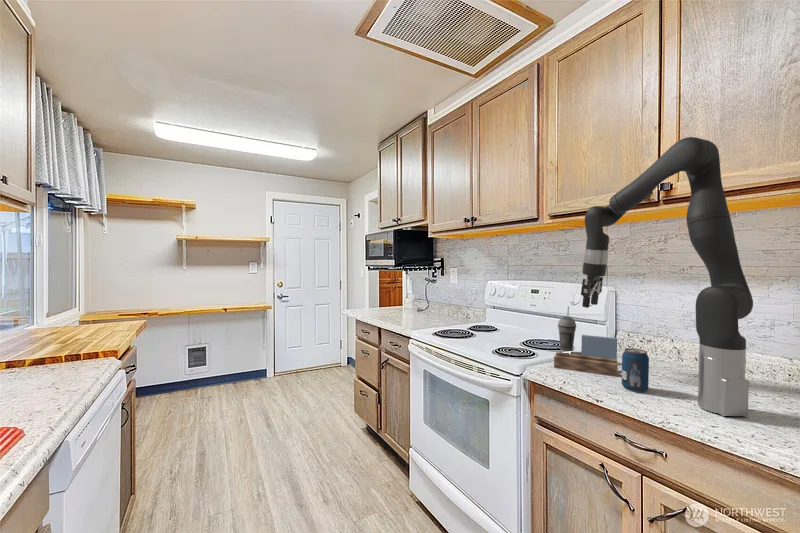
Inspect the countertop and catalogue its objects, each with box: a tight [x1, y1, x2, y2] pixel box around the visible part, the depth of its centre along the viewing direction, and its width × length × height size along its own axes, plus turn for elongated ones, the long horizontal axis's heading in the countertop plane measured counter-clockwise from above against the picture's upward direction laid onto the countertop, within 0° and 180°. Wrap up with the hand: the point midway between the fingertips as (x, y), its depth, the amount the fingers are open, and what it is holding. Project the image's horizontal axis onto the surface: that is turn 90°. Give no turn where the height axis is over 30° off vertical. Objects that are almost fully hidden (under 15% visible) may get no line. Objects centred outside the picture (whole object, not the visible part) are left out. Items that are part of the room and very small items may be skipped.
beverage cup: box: [557, 306, 577, 352], centre depth 153 cm, size 7×7×20 cm
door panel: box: [580, 334, 618, 361], centre depth 139 cm, size 12×2×10 cm, turn 60°
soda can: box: [621, 347, 650, 394], centre depth 110 cm, size 7×7×12 cm
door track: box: [553, 351, 619, 377], centre depth 130 cm, size 20×8×4 cm, turn 60°
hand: (589, 305), depth 132 cm, fingers open, 8 cm apart
